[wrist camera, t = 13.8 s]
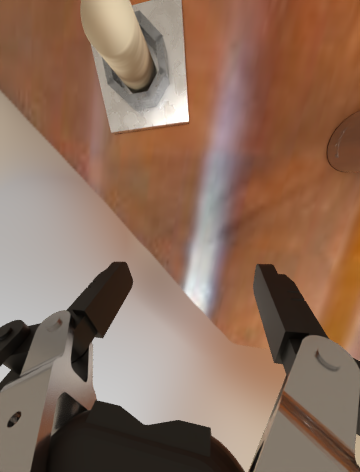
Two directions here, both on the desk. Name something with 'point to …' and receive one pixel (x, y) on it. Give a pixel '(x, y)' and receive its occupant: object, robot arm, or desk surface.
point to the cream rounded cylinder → (119, 41)
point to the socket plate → (177, 68)
